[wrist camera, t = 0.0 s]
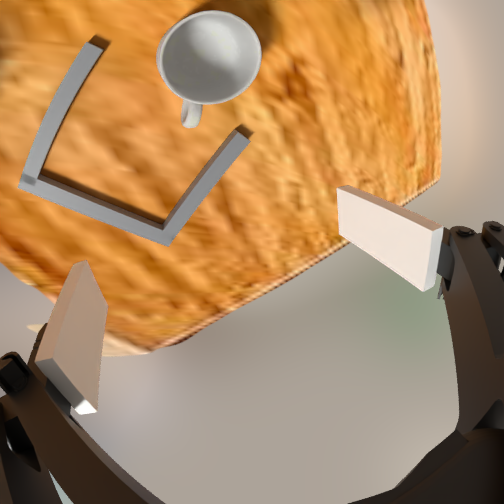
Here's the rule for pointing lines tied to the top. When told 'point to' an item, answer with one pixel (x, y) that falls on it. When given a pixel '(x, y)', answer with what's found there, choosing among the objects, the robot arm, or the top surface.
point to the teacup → (208, 60)
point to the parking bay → (98, 207)
